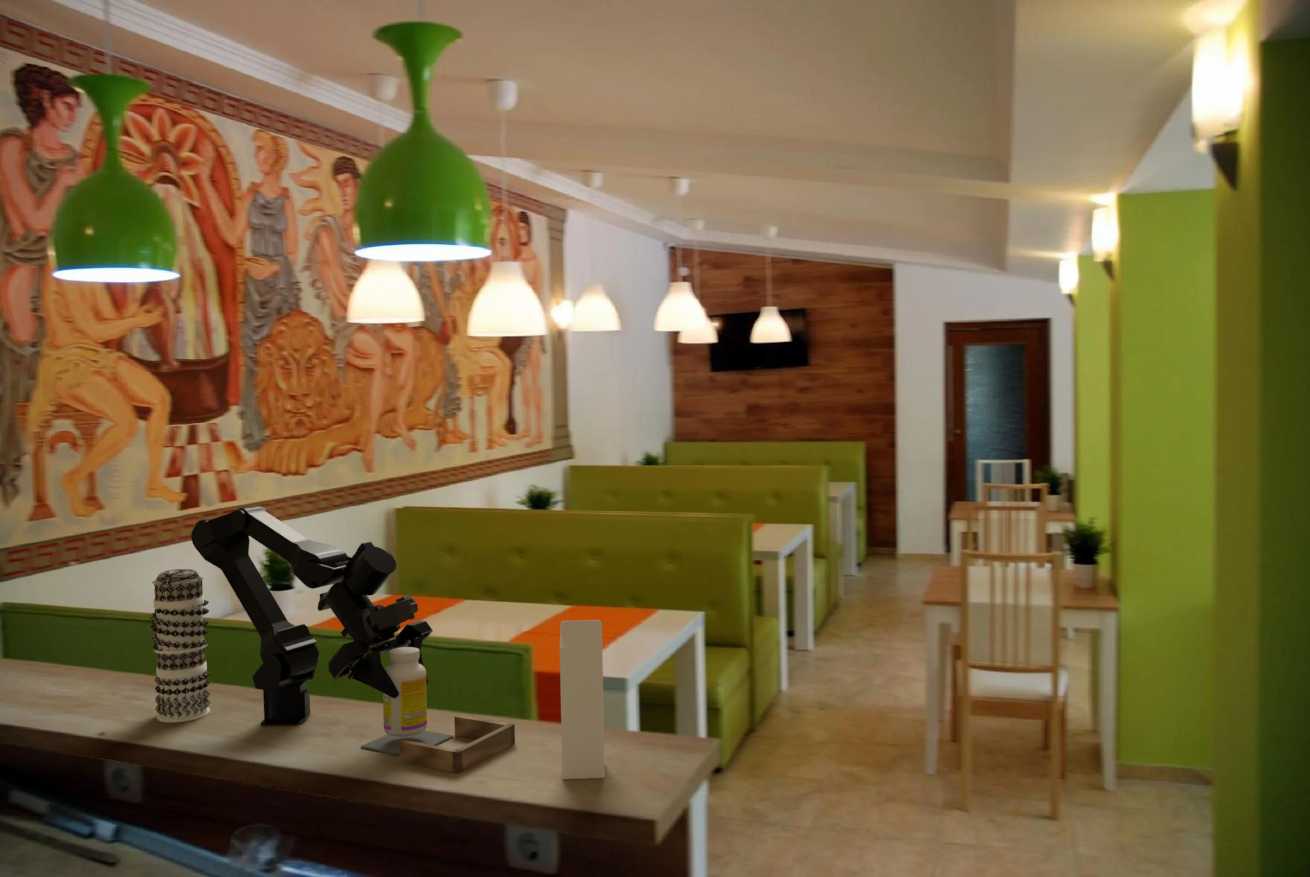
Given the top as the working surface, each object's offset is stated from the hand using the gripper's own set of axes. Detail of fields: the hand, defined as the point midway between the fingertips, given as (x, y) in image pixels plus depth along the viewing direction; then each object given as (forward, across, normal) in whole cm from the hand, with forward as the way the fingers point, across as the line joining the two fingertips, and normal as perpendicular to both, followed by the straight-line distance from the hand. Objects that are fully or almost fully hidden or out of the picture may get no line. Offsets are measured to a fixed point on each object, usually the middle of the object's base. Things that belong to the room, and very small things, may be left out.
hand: (411, 690), depth 163 cm
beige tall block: (+28, +1, -16) cm, 32 cm away
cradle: (+12, 0, 0) cm, 12 cm away
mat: (+5, 0, +7) cm, 8 cm away
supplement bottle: (+4, 0, +6) cm, 7 cm away
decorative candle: (-26, -5, +39) cm, 47 cm away
